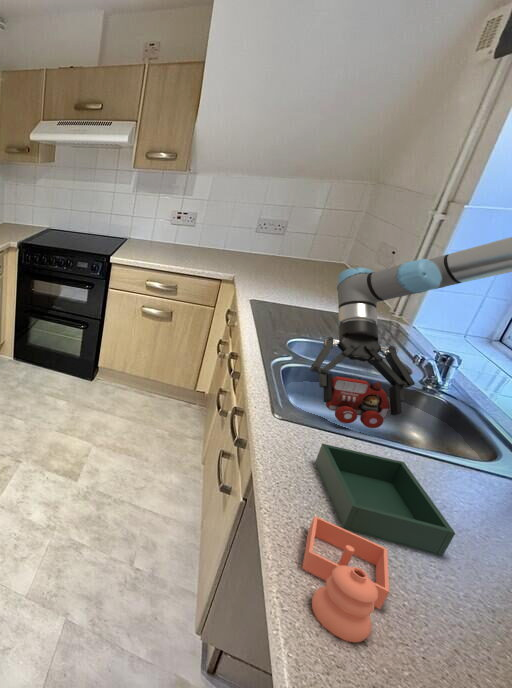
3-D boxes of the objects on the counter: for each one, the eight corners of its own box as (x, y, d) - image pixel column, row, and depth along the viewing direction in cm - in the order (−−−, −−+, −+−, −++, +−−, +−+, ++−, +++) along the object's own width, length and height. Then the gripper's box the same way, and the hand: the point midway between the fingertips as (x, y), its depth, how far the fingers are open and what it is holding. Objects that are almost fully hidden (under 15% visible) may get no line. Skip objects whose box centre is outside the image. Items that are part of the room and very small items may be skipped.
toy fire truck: (390, 432, 96) (406, 393, 92) (327, 421, 99) (340, 383, 96) (375, 415, 102) (389, 378, 98) (316, 405, 106) (328, 369, 102)
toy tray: (393, 484, 84) (404, 461, 82) (441, 558, 68) (455, 533, 66) (313, 465, 88) (322, 443, 86) (342, 530, 73) (352, 505, 71)
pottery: (307, 533, 72) (324, 490, 69) (378, 567, 67) (400, 522, 63) (293, 615, 59) (313, 567, 56) (379, 666, 54) (408, 616, 50)
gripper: (409, 339, 104) (417, 423, 96) (295, 323, 113) (294, 399, 105) (429, 327, 98) (439, 416, 90) (306, 311, 106) (305, 391, 98)
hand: (361, 407), depth 97 cm, fingers closed on toy fire truck, 12 cm apart
